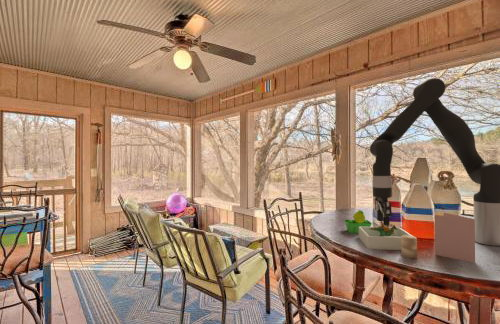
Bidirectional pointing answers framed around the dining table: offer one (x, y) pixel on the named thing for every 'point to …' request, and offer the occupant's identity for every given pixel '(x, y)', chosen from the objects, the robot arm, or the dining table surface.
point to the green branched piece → (385, 230)
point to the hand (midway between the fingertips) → (383, 223)
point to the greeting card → (455, 237)
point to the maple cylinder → (409, 246)
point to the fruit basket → (357, 222)
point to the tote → (381, 238)
